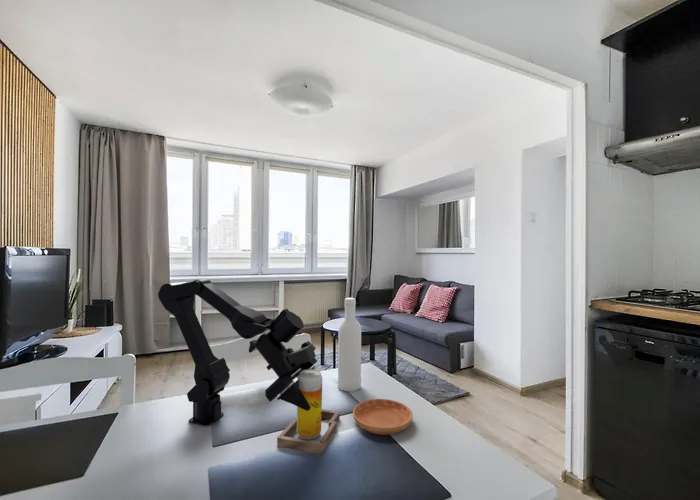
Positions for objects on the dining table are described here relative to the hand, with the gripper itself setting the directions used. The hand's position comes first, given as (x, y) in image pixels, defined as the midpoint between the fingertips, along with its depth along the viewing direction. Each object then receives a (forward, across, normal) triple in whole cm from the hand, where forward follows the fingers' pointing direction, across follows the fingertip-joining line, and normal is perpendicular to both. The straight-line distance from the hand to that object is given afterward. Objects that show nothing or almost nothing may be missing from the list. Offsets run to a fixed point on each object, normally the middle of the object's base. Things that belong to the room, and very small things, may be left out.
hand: (314, 403), depth 81 cm
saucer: (+16, +12, -5) cm, 21 cm away
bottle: (+6, +31, +6) cm, 32 cm away
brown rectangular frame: (+5, +2, +6) cm, 8 cm away
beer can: (+5, 0, +6) cm, 8 cm away
